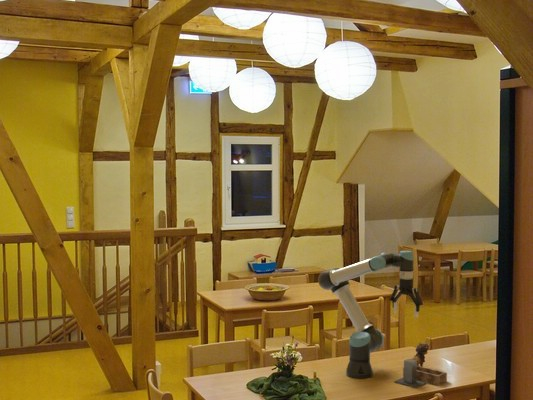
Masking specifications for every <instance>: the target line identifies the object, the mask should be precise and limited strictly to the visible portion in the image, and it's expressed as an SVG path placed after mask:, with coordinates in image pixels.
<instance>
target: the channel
mask: <svg viewBox="0 0 533 400" xmlns="http://www.w3.org/2000/svg"><path fill="white" fill-rule="evenodd" d="M402 376H403V377H404V367H403V368H402ZM447 378H448V373H447V372H446V371H441V370H437V369H433V368H429V367H425V366H423V367H421V366H420V365H419V366H417V378H416V380H417V381H421V382H425V383H428V384H433V385H436V386H441V385H443V384H444V383H446V382H448V379H447Z"/></svg>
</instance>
